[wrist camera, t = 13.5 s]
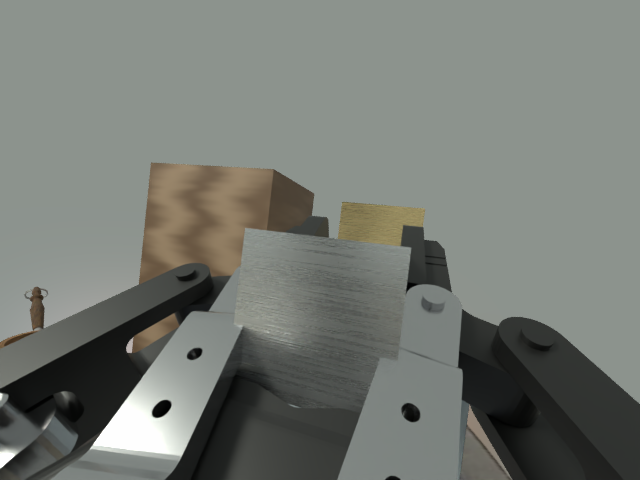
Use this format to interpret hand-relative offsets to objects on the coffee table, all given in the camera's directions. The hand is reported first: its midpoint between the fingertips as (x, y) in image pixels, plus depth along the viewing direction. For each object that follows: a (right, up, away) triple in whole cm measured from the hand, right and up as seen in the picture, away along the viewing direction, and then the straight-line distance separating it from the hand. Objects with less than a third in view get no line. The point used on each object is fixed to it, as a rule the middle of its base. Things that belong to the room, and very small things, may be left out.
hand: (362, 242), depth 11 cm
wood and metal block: (+1, -3, +5) cm, 6 cm away
